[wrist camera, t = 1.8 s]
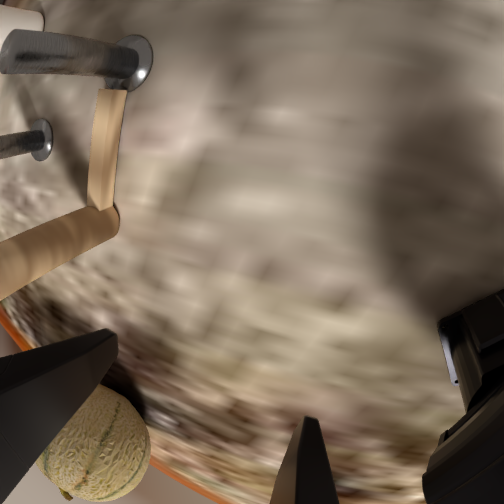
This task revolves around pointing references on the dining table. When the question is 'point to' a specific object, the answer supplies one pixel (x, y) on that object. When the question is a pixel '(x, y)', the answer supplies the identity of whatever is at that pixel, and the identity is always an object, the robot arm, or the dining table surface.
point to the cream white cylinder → (18, 21)
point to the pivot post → (77, 57)
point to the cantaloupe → (99, 449)
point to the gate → (80, 221)
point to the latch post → (29, 142)
